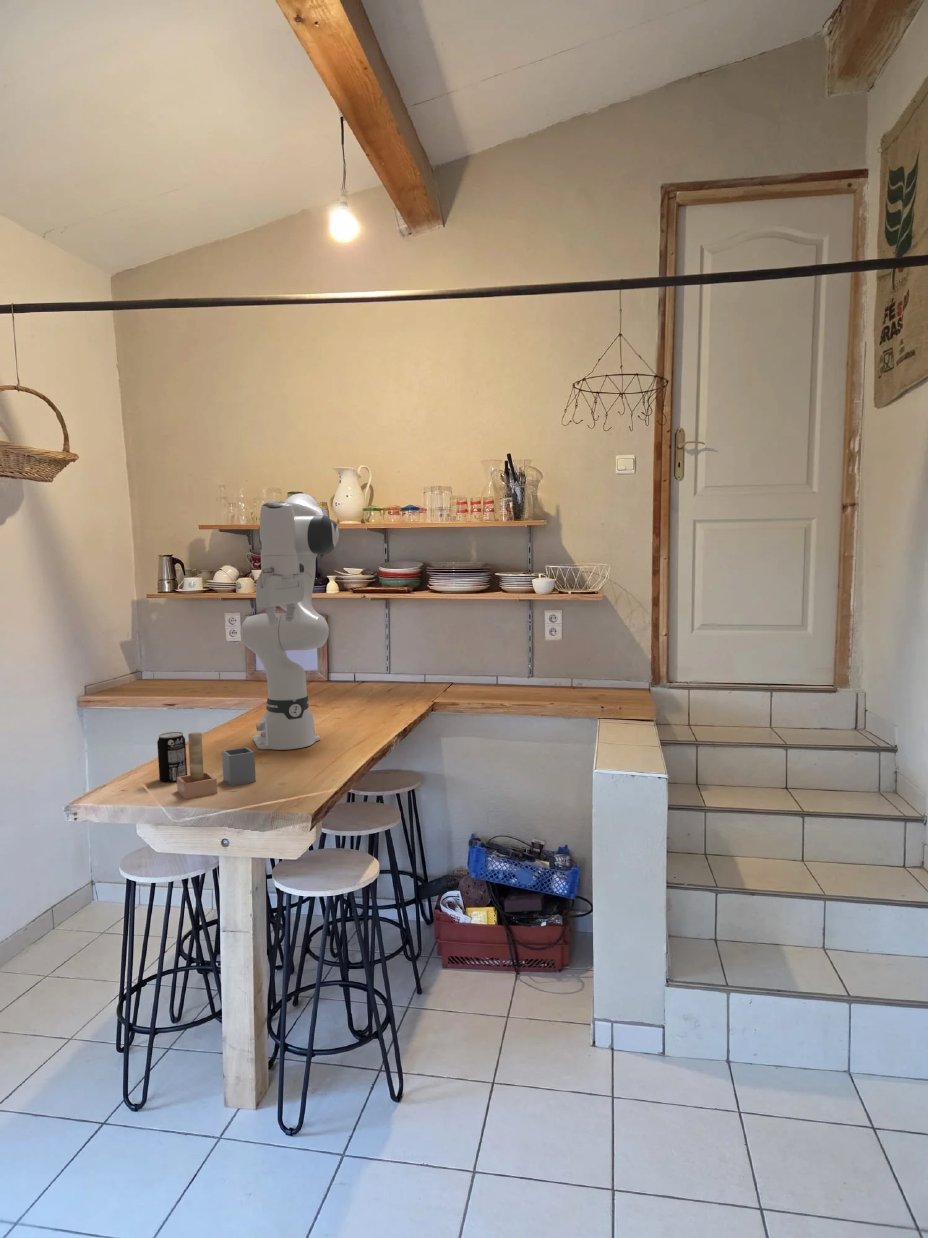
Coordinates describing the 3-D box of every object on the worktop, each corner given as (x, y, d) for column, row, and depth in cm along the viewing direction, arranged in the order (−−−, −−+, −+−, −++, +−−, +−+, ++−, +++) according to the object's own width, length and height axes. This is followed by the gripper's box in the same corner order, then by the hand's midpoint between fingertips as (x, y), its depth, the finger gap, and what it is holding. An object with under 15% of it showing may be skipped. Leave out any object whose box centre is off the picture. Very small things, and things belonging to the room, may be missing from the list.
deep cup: (223, 782, 196) (221, 750, 196) (248, 778, 200) (246, 747, 199) (230, 788, 191) (229, 756, 190) (255, 783, 194) (254, 752, 194)
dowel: (189, 791, 187) (186, 733, 186) (202, 789, 189) (199, 731, 188) (192, 794, 185) (189, 735, 184) (205, 792, 186) (203, 734, 185)
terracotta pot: (177, 793, 188) (176, 777, 188) (208, 787, 192) (208, 771, 192) (184, 801, 182) (184, 784, 181) (217, 795, 186) (216, 778, 185)
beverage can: (166, 777, 202) (163, 731, 201) (191, 777, 202) (188, 731, 201) (155, 785, 195) (152, 737, 194) (181, 785, 195) (178, 737, 194)
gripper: (272, 568, 185) (275, 627, 186) (307, 566, 204) (310, 619, 206) (247, 568, 186) (250, 627, 187) (285, 566, 206) (287, 619, 207)
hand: (281, 623), depth 197 cm, fingers open, 8 cm apart
